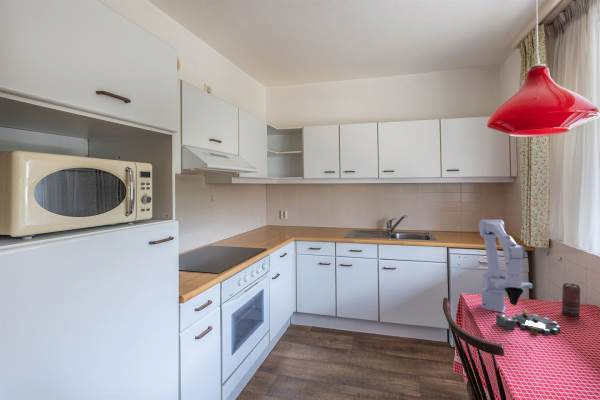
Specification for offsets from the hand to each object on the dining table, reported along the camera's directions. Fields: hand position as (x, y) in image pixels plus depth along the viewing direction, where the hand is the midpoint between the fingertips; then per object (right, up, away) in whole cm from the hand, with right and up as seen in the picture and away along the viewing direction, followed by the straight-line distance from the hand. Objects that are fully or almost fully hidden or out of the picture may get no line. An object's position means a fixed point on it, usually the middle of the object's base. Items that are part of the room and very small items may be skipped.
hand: (513, 304), depth 132 cm
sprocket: (+10, -9, 0) cm, 13 cm away
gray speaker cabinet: (-4, -10, 0) cm, 10 cm away
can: (+34, -8, +10) cm, 36 cm away
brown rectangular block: (+4, -10, -7) cm, 13 cm away
